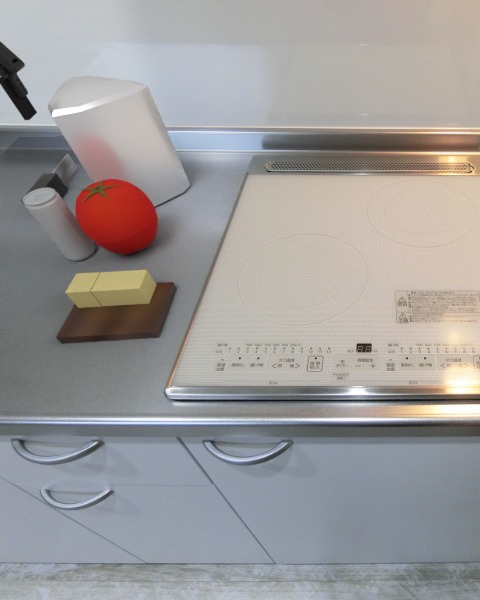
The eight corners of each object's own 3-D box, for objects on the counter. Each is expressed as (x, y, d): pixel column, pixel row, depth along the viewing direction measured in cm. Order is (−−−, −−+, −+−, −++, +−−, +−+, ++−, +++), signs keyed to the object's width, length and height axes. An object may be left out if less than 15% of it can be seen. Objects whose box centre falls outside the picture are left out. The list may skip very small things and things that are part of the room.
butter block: (102, 306, 66) (90, 291, 64) (112, 287, 69) (100, 271, 66) (149, 303, 67) (139, 288, 64) (157, 284, 69) (147, 269, 67)
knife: (48, 217, 83) (34, 200, 80) (34, 218, 83) (20, 200, 80) (84, 168, 95) (73, 151, 92) (71, 169, 94) (60, 152, 91)
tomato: (146, 219, 83) (112, 158, 73) (181, 240, 79) (150, 179, 69) (89, 252, 77) (44, 190, 67) (124, 277, 73) (81, 215, 63)
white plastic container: (193, 184, 90) (146, 73, 74) (151, 227, 81) (87, 111, 65) (130, 174, 93) (71, 65, 76) (83, 215, 84) (4, 100, 67)
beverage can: (62, 253, 77) (17, 195, 68) (91, 240, 79) (50, 183, 70) (72, 266, 74) (26, 209, 65) (101, 253, 77) (60, 195, 68)
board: (61, 343, 64) (55, 337, 63) (88, 293, 70) (83, 286, 69) (159, 337, 64) (154, 331, 63) (177, 288, 71) (173, 281, 70)
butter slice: (78, 308, 66) (64, 292, 64) (88, 288, 69) (76, 273, 66) (102, 306, 66) (89, 291, 64) (111, 287, 69) (99, 271, 66)
